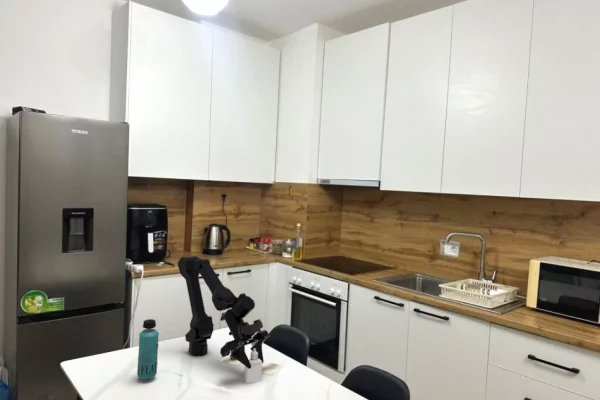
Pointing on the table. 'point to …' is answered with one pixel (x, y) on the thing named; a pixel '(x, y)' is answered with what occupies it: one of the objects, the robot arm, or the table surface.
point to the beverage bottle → (148, 350)
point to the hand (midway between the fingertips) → (256, 365)
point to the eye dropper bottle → (253, 369)
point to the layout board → (266, 366)
